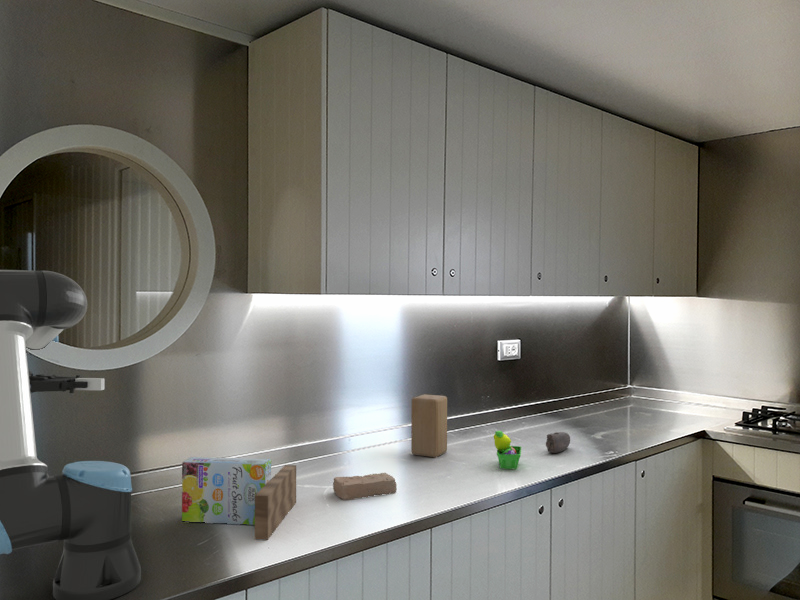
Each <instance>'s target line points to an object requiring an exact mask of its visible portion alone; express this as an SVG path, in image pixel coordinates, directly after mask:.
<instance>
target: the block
mask: <svg viewBox="0 0 800 600" xmlns="http://www.w3.org/2000/svg"><path fill="white" fill-rule="evenodd" d="M410 428H411V429H410V430H411V435H410V437H411V442H410V443H411V450H410V451H411V452H410V453H411V455H414V456H419V457H420V456H421V457H428V458H438V457H439V456H441V455H443V454H445V453H447V451H448V397H447V396H446V395H437V394H425V393H424V394H421V395H418V396H415V397H412V398H411V426H410Z"/></svg>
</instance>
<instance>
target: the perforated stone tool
mask: <svg viewBox="0 0 800 600" xmlns="http://www.w3.org/2000/svg"><path fill="white" fill-rule="evenodd" d="M570 443H571V436H570V434H569V433H568V432H565V431H558V432H557V431H556V432H552V433H548V434H547V435H546V441H545V447H546V449H547V452H548V453H551V454H552V453H553V454H557V453H561V452H563V451H565V450H566V449H567V448H569V446H570Z"/></svg>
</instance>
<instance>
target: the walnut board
mask: <svg viewBox="0 0 800 600" xmlns="http://www.w3.org/2000/svg"><path fill="white" fill-rule="evenodd" d="M295 503H296V504H297V465H295V464H294V465H293V464H292V465H291V464H285V465H284V466H283V467H282V468H280V470H279V471H277V472H276V474H275V475H274V476H273V477H271V480H270V481H269V482H268V483H267V484H266V485H265V486H264V487H263V488H262V489H261V490H260V491H259V492H258V493H257V494H256V495H255V525H254V540H255V539H266V540H265V541H268V540H269V539H270V538H271V537H272V535H273V534H274V532H275V531H276V530H277V529H278V528H279V526H280V525H281V524H282V522H283V521H284V520H285V518H286V517H285V516H287V515H288V514H289V513H290V511H291V510H292V509H293V507H294V506H295V505H296V504H295ZM288 512H289V513H288ZM282 520H283V521H282ZM279 524H280V525H279ZM276 528H277V529H276ZM272 533H273V534H272ZM269 537H270V538H269Z"/></svg>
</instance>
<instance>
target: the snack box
mask: <svg viewBox="0 0 800 600" xmlns="http://www.w3.org/2000/svg"><path fill="white" fill-rule="evenodd" d="M181 465H182V466H181V522H182V521H190V522H205V523H204V524H213V523H227V524H226V525H240V524H247V525H246V526H255V495H256V494H257V493H258V492H259V491H260V490H261V489H262V488H263V487H264V486H265V485H266V484H267V483H268V482H269V481H270V480H271V479H272V459H270V458H241V457H239V458H238V457H202V456H201V457H198V456H195V457H194V456H191V457H189V458H187V459H185V460H184V461H182V463H181Z"/></svg>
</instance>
